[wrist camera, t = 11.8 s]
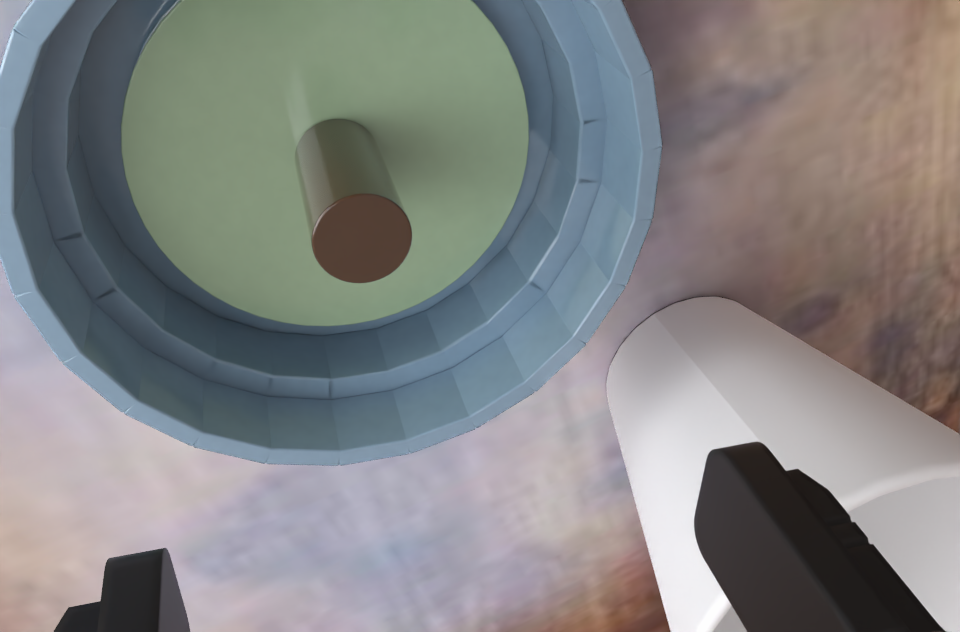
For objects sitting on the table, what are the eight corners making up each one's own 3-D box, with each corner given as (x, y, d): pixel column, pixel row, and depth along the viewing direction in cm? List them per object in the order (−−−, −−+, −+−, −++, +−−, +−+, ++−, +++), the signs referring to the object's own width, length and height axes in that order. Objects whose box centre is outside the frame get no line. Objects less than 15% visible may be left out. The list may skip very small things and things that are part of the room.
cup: (619, 520, 39) (762, 790, 29) (490, 357, 32) (619, 639, 22) (850, 377, 38) (1083, 608, 28) (768, 176, 31) (1040, 387, 21)
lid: (77, -56, 21) (37, 5, 16) (525, -74, 23) (609, -25, 19) (167, 330, 27) (158, 459, 22) (513, 285, 30) (573, 392, 25)
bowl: (150, -331, 19) (132, -352, 15) (684, 11, 26) (779, 65, 22) (-46, 266, 25) (-100, 379, 21) (435, 407, 32) (471, 512, 28)
